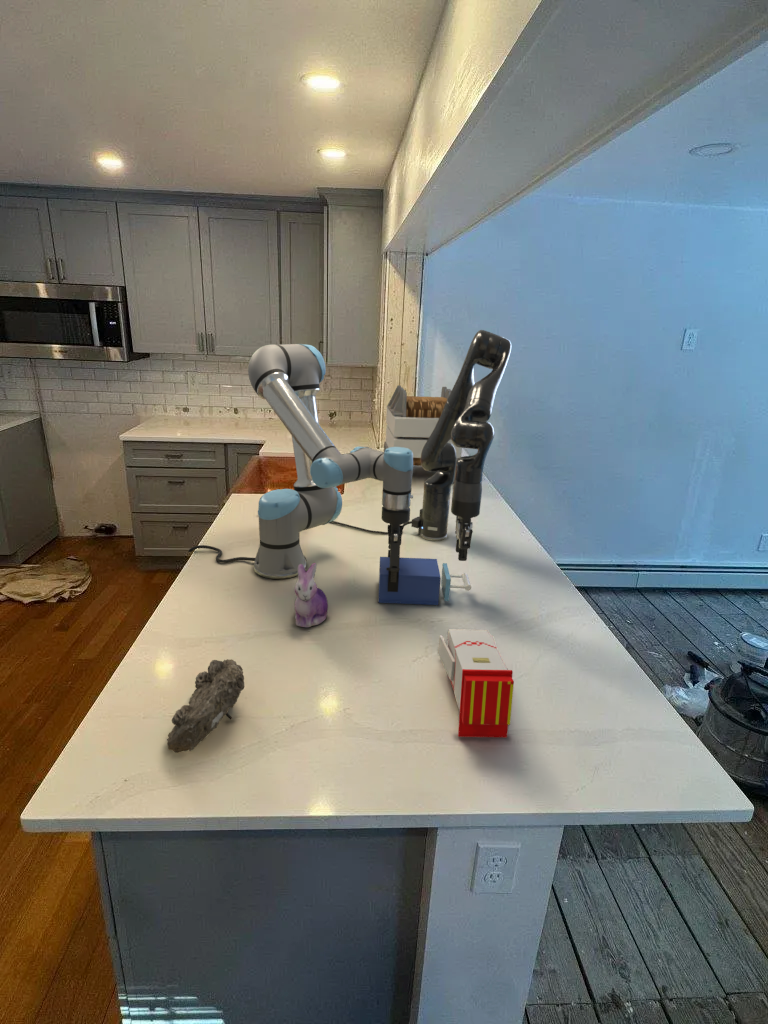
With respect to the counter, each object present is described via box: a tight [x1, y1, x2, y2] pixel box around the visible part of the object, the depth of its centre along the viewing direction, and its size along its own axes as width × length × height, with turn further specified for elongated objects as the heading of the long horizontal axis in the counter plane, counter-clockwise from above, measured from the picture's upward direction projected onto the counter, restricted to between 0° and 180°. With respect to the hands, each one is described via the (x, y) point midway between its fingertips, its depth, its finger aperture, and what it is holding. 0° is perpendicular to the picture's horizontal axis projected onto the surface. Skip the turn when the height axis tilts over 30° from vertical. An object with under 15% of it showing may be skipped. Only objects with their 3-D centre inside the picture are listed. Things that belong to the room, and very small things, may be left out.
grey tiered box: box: [383, 384, 463, 484], centre depth 268 cm, size 34×33×41 cm
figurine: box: [293, 562, 329, 628], centre depth 140 cm, size 9×10×15 cm
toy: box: [437, 628, 515, 738], centre depth 117 cm, size 12×13×30 cm
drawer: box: [439, 562, 472, 602], centre depth 157 cm, size 21×10×7 cm, turn 90°
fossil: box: [166, 658, 245, 754], centre depth 106 cm, size 22×10×15 cm
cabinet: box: [378, 556, 441, 606], centre depth 157 cm, size 16×11×8 cm
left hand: (392, 580), depth 157 cm, fingers closed on cabinet, 11 cm apart
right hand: (460, 555), depth 154 cm, fingers open, 5 cm apart
